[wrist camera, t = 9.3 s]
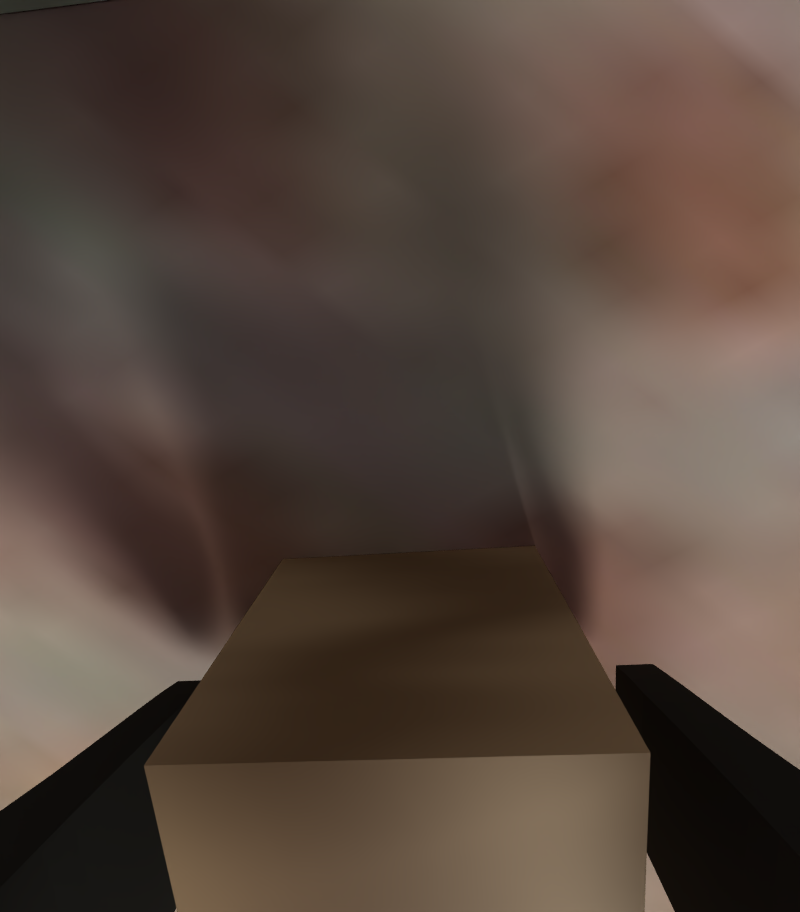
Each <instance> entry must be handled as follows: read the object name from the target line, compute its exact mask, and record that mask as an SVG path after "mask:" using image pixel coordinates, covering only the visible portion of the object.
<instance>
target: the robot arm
mask: <svg viewBox="0 0 800 912" xmlns="http://www.w3.org/2000/svg"><path fill="white" fill-rule="evenodd" d="M199 683H200V681H178V682H176V683H175V684H173V685H172V686H170V687H169V688H167V689H166V690H164V691H163V692H161V693H160V694H159V695H157V696H156V697H154V698H153V699H152V700H150V701H149V702H148V703H146V704H145V705H144V706H142V707H141V708H140V709H138V710H137V711H136V712H134V713H133V714H132V715H130V716H129V717H128V718H126V719H125V720H124V721H122V722H121V723H120V724H118V725H117V726H116V727H115V728H113V729H112V730H111V731H109V732H108V733H107V734H105V735H104V736H103V737H101V738H100V739H99V740H97V741H96V742H95V743H93V744H92V745H91V746H89V747H88V748H87V749H85V750H84V751H83V752H81V753H80V754H79V755H77V756H76V757H75V758H73V759H72V760H71V761H69V762H68V763H67V764H65V765H64V766H63V767H61V768H60V769H59V770H57V771H56V772H55V773H53V774H52V775H50V776H49V777H48V778H46V779H45V780H43V781H42V782H41V783H39V784H38V785H36V786H35V787H34V788H32V789H31V790H29V791H28V792H27V793H25V794H24V795H22V796H21V797H19V798H18V799H17V800H15V801H14V802H12V803H11V804H10V805H8V806H7V807H5V808H4V809H3V810H1V811H0V912H174V911H175V909H176V904H175V899H174V895H173V890H172V886H171V882H170V877H169V873H168V869H167V864H166V860H165V856H164V851H163V847H162V843H161V838H160V834H159V829H158V825H157V821H156V816H155V812H154V808H153V803H152V799H151V795H150V790H149V786H148V782H147V777H146V773H145V769H144V765H145V763H146V762H147V760H148V759H149V757H150V756H151V754H152V753H153V751H154V750H155V748H156V747H157V745H158V744H159V742H160V741H161V739H162V738H163V736H164V735H165V733H166V732H167V730H168V729H169V728H170V726H171V725H172V723H173V722H174V720H175V719H176V717H177V716H178V714H179V713H180V711H181V710H182V708H183V707H184V705H185V704H186V702H187V701H188V699H189V698H190V696H191V695H192V693H193V692H194V690H195V689H196V687H197V686H198V684H199ZM616 692H617V694H618V696H619V697H620V699H621V701H622V703H623V705H624V706H625V708H626V710H627V712H628V714H629V715H630V717H631V719H632V721H633V722H634V724H635V726H636V728H637V730H638V731H639V733H640V735H641V737H642V739H643V740H644V742H645V744H646V746H647V748H648V749H649V751H650V779H649V805H648V831H647V854H648V856H649V858H650V860H651V862H652V864H653V866H654V868H655V871H656V873H657V875H658V877H659V879H660V881H661V883H662V885H663V888H664V890H665V892H666V894H667V896H668V898H669V900H670V902H671V904H672V907H673V909H674V911H675V912H800V770H799V769H798V768H796V767H795V766H793V765H792V764H790V763H789V762H788V761H786V760H785V759H783V758H782V757H780V756H779V755H778V754H776V753H775V752H773V751H772V750H771V749H769V748H768V747H766V746H765V745H764V744H762V743H761V742H759V741H758V740H757V739H755V738H754V737H752V736H751V735H750V734H748V733H747V732H745V731H744V730H743V729H741V728H740V727H738V726H737V725H736V724H734V723H733V722H732V721H730V720H729V719H728V718H726V717H725V716H723V715H722V714H721V713H719V712H718V711H717V710H715V709H714V708H713V707H711V706H710V705H709V704H707V703H706V702H704V701H703V700H702V699H700V698H699V697H698V696H696V695H695V694H694V693H692V692H691V691H690V690H688V689H687V688H685V687H684V686H683V685H681V684H680V683H679V682H677V681H676V680H675V679H673V678H672V677H670V676H669V675H668V674H666V673H665V672H663V671H662V670H661V669H659V668H658V667H656V666H655V665H653V664H642V665H616Z"/></svg>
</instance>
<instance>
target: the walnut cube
mask: <svg viewBox="0 0 800 912" xmlns="http://www.w3.org/2000/svg"><path fill="white" fill-rule="evenodd" d="M144 769H145V773H146V777H147V782H148V786H149V790H150V795H151V799H152V803H153V808H154V812H155V816H156V821H157V825H158V829H159V834H160V838H161V843H162V847H163V851H164V856H165V860H166V864H167V869H168V873H169V877H170V882H171V886H172V890H173V895H174V899H175V904H176V908H177V912H644V908H645V882H646V856H647V831H648V805H649V779H650V751H649V749H648V748H647V746H646V744H645V742H644V740H643V739H642V737H641V735H640V733H639V731H638V730H637V728H636V726H635V724H634V722H633V721H632V719H631V717H630V715H629V714H628V712H627V710H626V708H625V706H624V705H623V703H622V701H621V699H620V697H619V696H618V694H617V692H616V690H615V689H614V687H613V685H612V683H611V681H610V680H609V678H608V676H607V674H606V672H605V671H604V669H603V667H602V665H601V664H600V662H599V660H598V658H597V656H596V655H595V653H594V651H593V649H592V647H591V646H590V644H589V642H588V640H587V638H586V637H585V635H584V633H583V631H582V630H581V628H580V626H579V624H578V622H577V621H576V619H575V617H574V615H573V613H572V612H571V610H570V608H569V606H568V605H567V603H566V601H565V599H564V597H563V596H562V594H561V592H560V590H559V588H558V587H557V585H556V583H555V581H554V580H553V578H552V576H551V574H550V572H549V571H548V569H547V567H546V565H545V563H544V562H543V560H542V558H541V556H540V554H539V553H538V551H537V549H536V547H535V546H518V547H500V548H481V549H462V550H444V551H425V552H406V553H388V554H369V555H350V556H332V557H313V558H294V559H282V561H281V562H280V564H279V565H278V567H277V568H276V570H275V571H274V573H273V574H272V576H271V577H270V579H269V580H268V582H267V583H266V585H265V586H264V588H263V589H262V591H261V592H260V594H259V595H258V597H257V598H256V600H255V601H254V603H253V604H252V606H251V607H250V609H249V610H248V611H247V613H246V614H245V616H244V617H243V619H242V620H241V622H240V623H239V625H238V626H237V628H236V629H235V631H234V632H233V634H232V635H231V637H230V638H229V640H228V641H227V643H226V644H225V646H224V647H223V649H222V650H221V652H220V653H219V655H218V656H217V658H216V659H215V661H214V662H213V664H212V665H211V667H210V668H209V670H208V671H207V672H206V674H205V675H204V677H203V678H202V680H201V681H200V683H199V684H198V686H197V687H196V689H195V690H194V692H193V693H192V695H191V696H190V698H189V699H188V701H187V702H186V704H185V705H184V707H183V708H182V710H181V711H180V713H179V714H178V716H177V717H176V719H175V720H174V722H173V723H172V725H171V726H170V728H169V729H168V730H167V732H166V733H165V735H164V736H163V738H162V739H161V741H160V742H159V744H158V745H157V747H156V748H155V750H154V751H153V753H152V754H151V756H150V757H149V759H148V760H147V762H146V763H145V765H144Z"/></svg>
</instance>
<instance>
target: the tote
mask: <svg viewBox="0 0 800 912" xmlns="http://www.w3.org/2000/svg"><path fill="white" fill-rule="evenodd" d="M97 1H105V0H0V14H4V13H12V12H19V11H27V10H35V9H43V8H50V7H58V6H66V5H74V4H81V3H89V2H97Z"/></svg>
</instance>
